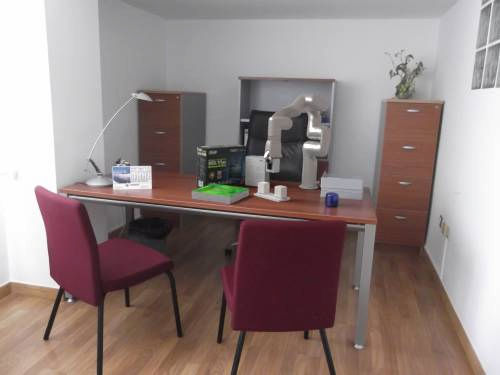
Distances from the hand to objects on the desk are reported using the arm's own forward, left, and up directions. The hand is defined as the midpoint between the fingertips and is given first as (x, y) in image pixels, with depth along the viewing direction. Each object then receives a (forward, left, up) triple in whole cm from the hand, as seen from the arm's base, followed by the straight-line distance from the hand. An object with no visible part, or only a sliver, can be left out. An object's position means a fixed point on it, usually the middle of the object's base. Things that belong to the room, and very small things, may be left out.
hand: (272, 168), depth 244 cm
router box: (+1, -46, -18) cm, 49 cm away
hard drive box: (-18, -31, -18) cm, 40 cm away
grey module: (0, 0, -2) cm, 2 cm away
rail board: (0, 0, -18) cm, 18 cm away
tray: (+24, -19, -18) cm, 36 cm away
